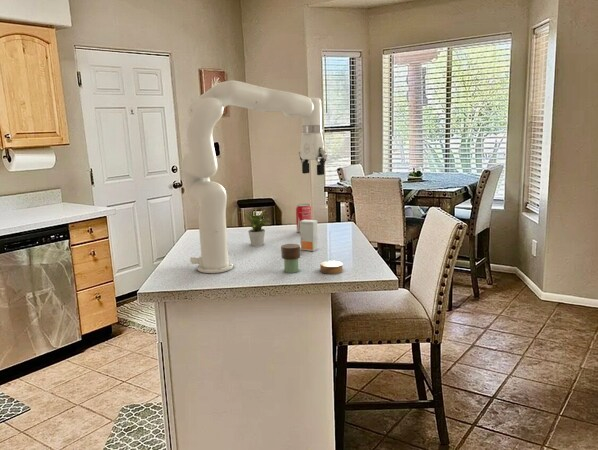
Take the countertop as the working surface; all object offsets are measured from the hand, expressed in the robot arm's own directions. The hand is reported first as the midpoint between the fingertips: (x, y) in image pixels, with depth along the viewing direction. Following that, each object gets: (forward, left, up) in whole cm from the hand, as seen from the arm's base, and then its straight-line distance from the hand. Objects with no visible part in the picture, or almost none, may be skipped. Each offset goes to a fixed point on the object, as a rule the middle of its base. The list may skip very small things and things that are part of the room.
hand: (313, 174), depth 202 cm
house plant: (-26, +7, -31) cm, 41 cm away
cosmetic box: (-2, -1, -31) cm, 31 cm away
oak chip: (+8, -31, -31) cm, 44 cm away
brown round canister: (-6, -31, -26) cm, 41 cm away
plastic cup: (-6, -31, -31) cm, 44 cm away
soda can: (-7, +33, -31) cm, 46 cm away
